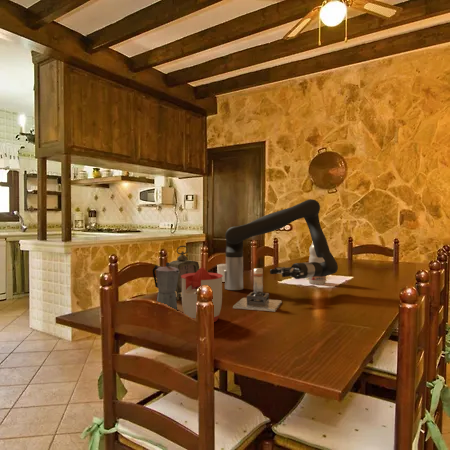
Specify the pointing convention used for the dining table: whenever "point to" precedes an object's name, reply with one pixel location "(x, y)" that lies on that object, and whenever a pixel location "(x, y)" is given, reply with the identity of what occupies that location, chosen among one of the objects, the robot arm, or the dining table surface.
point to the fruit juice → (316, 259)
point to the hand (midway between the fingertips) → (276, 273)
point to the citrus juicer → (193, 283)
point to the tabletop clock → (183, 268)
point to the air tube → (258, 282)
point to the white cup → (221, 270)
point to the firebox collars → (258, 303)
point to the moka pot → (166, 284)
